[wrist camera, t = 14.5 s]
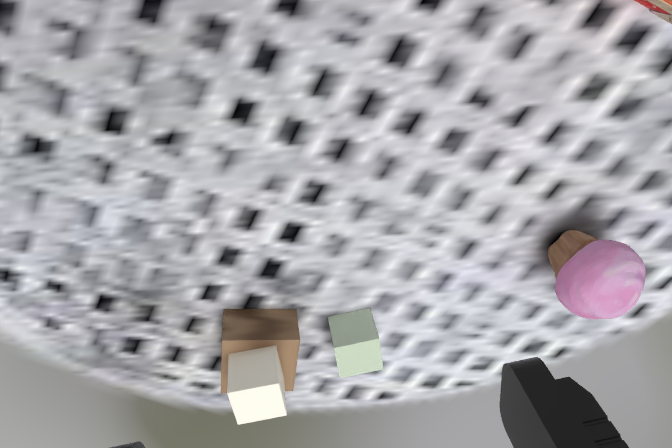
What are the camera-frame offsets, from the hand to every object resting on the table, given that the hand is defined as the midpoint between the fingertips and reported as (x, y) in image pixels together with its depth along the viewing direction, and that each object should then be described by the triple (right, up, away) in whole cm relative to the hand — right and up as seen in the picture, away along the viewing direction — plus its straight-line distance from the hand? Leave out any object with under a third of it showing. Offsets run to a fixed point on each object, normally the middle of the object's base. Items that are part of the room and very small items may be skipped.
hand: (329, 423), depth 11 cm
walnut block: (-9, -8, +48) cm, 49 cm away
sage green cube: (+2, -8, +49) cm, 50 cm away
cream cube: (-8, -11, +43) cm, 45 cm away
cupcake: (+27, +2, +47) cm, 54 cm away
